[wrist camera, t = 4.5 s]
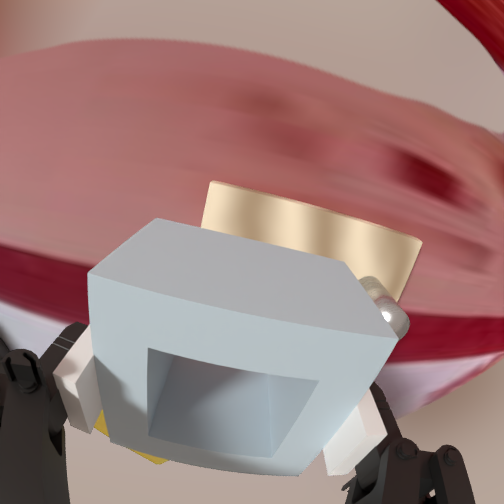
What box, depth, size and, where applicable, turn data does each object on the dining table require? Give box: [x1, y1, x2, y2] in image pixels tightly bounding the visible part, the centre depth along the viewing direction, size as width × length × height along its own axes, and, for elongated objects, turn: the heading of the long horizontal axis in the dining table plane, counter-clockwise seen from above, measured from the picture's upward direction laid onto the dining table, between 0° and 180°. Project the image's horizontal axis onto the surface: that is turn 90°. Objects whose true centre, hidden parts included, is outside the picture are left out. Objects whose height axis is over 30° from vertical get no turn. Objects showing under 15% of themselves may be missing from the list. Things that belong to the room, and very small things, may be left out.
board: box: [201, 180, 422, 302], centre depth 27 cm, size 20×18×2 cm
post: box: [358, 276, 410, 341], centre depth 22 cm, size 3×3×6 cm
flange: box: [88, 218, 399, 476], centre depth 11 cm, size 13×8×6 cm, turn 166°
